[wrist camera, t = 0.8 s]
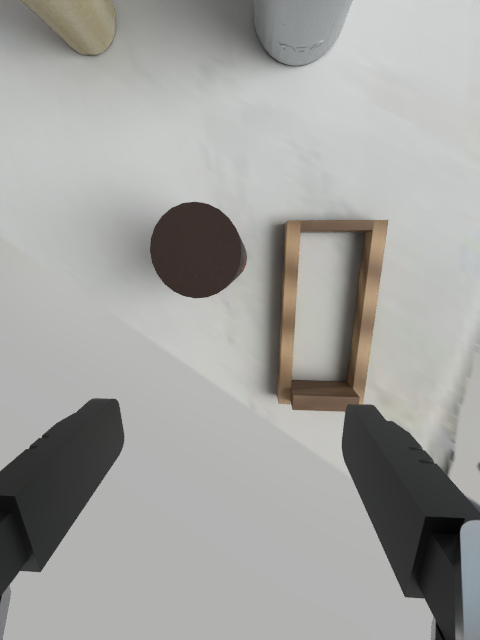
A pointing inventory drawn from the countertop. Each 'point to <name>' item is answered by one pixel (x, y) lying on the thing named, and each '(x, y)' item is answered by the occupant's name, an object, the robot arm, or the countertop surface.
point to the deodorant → (197, 250)
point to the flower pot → (79, 22)
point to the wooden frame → (352, 391)
